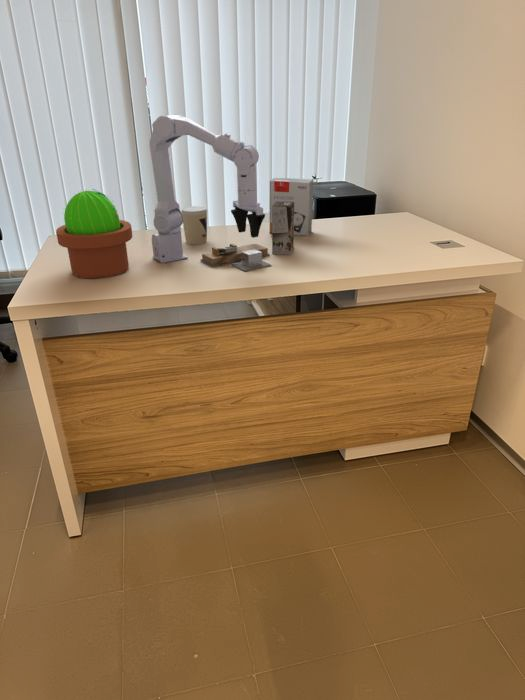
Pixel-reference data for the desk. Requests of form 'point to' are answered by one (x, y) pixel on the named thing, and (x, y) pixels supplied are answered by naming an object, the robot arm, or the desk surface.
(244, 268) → the mat
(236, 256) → the body
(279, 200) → the hard drive box
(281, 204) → the coffee box
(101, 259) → the potted cactus
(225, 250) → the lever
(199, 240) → the coffee cup
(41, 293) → the desk surface
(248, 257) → the brushed metal cube
